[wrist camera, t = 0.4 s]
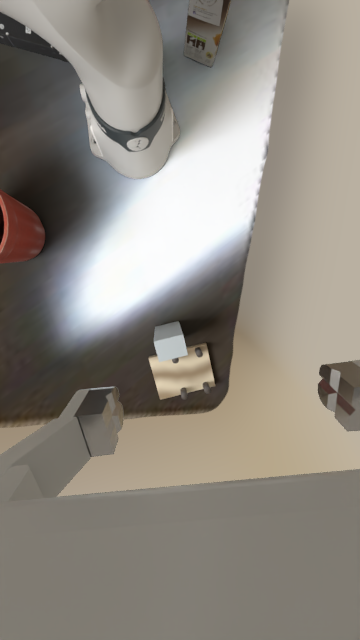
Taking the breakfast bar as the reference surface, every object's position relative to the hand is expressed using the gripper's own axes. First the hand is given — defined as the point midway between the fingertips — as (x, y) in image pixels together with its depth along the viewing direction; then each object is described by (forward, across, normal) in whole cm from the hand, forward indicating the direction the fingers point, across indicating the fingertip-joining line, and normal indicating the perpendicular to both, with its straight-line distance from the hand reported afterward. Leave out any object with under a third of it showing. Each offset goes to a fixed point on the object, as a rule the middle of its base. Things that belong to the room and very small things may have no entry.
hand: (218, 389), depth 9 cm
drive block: (+45, +6, +15) cm, 48 cm away
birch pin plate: (+44, +4, +26) cm, 51 cm away
